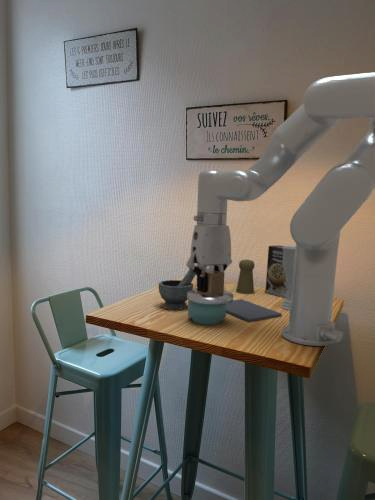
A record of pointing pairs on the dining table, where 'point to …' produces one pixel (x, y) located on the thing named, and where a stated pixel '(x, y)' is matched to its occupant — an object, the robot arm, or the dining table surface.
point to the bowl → (206, 313)
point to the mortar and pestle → (176, 291)
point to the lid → (211, 290)
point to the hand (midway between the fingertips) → (208, 289)
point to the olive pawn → (246, 277)
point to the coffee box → (276, 273)
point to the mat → (250, 311)
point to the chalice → (288, 271)
